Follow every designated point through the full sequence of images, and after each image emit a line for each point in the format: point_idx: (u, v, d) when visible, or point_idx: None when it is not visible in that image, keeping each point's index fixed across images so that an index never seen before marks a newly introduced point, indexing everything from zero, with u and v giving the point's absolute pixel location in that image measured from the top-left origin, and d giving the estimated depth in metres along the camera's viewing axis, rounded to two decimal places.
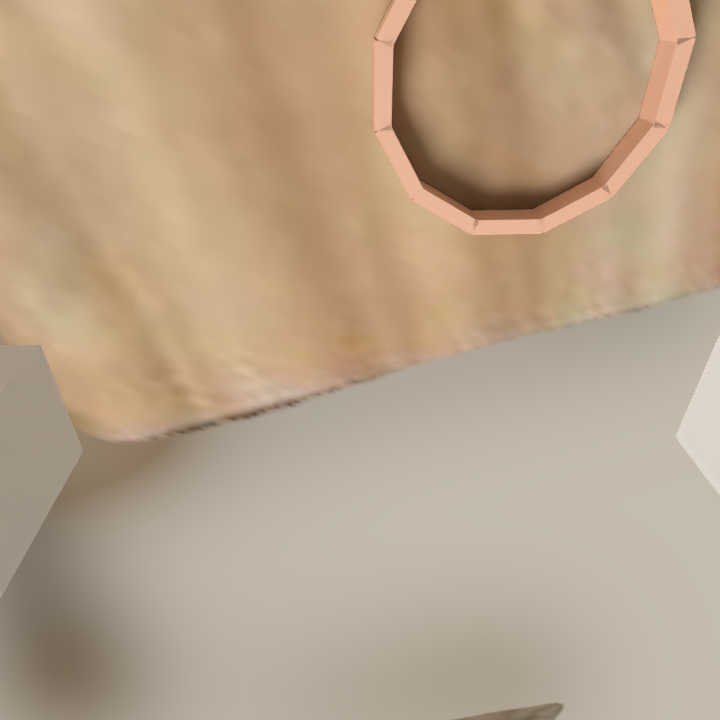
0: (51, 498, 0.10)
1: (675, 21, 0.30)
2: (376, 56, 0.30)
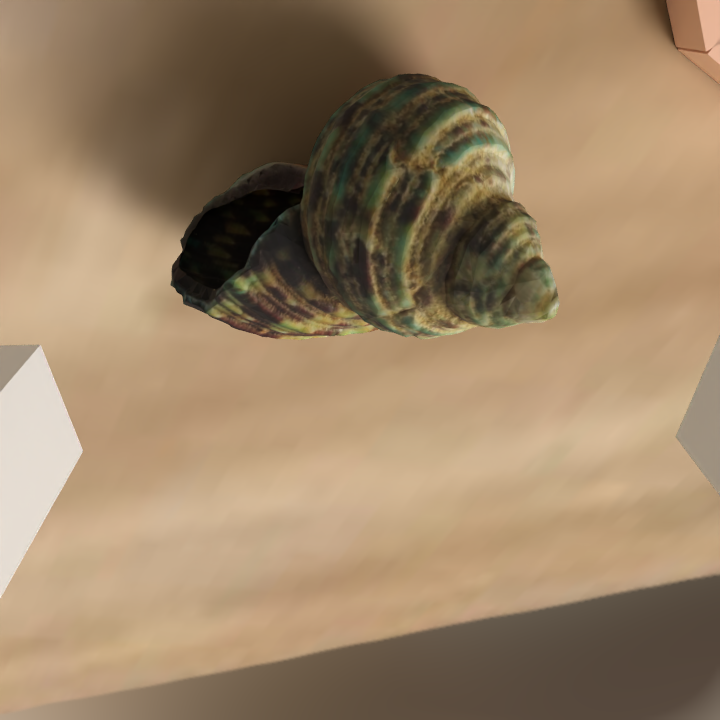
0: (51, 498, 0.10)
1: None
2: None
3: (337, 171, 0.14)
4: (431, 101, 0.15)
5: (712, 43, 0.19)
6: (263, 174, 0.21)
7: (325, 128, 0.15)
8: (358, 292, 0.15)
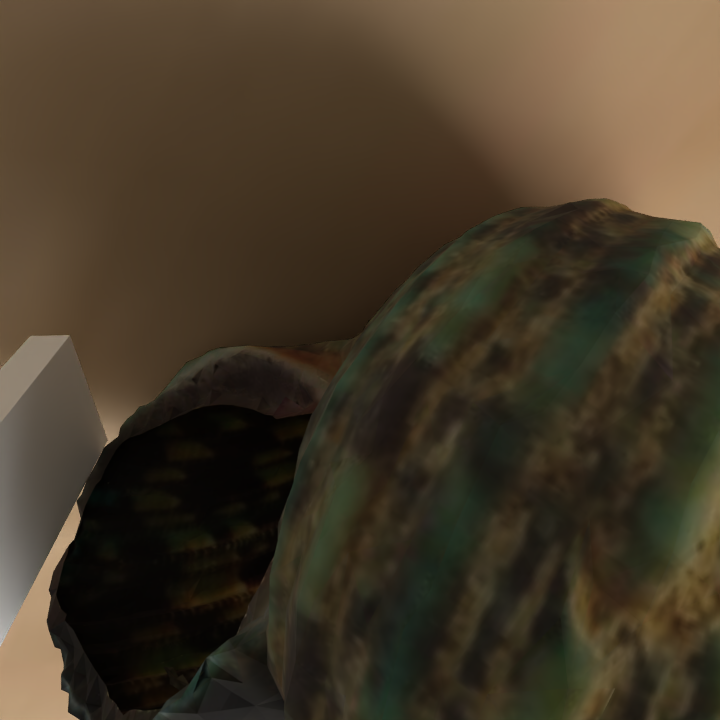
0: (80, 484, 0.11)
1: None
2: None
3: (372, 644, 0.04)
4: (672, 333, 0.04)
5: None
6: (221, 369, 0.11)
7: (321, 432, 0.05)
8: None
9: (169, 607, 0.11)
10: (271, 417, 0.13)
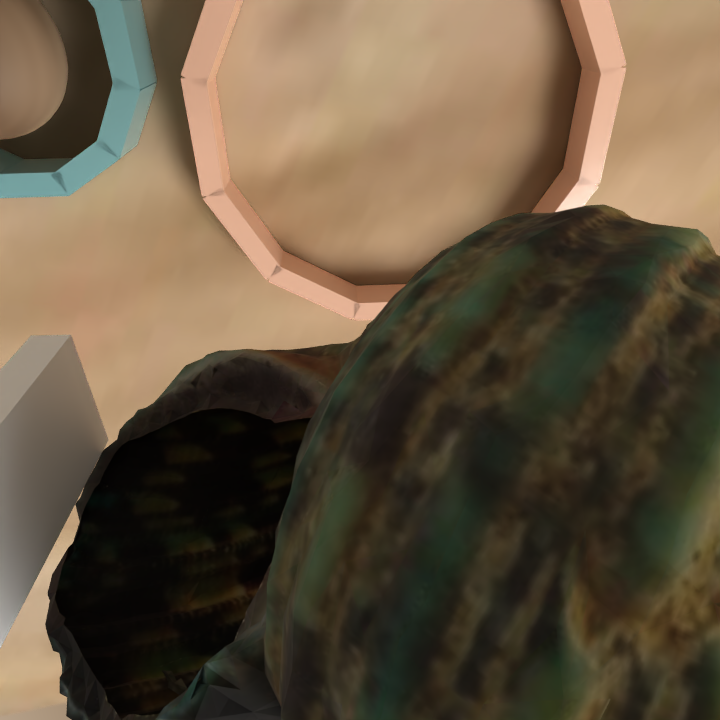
0: (81, 484, 0.11)
1: None
2: (368, 318, 0.28)
3: (368, 652, 0.04)
4: (668, 342, 0.04)
5: (268, 275, 0.26)
6: (219, 372, 0.11)
7: (318, 440, 0.05)
8: None
9: (168, 609, 0.11)
10: (270, 420, 0.13)
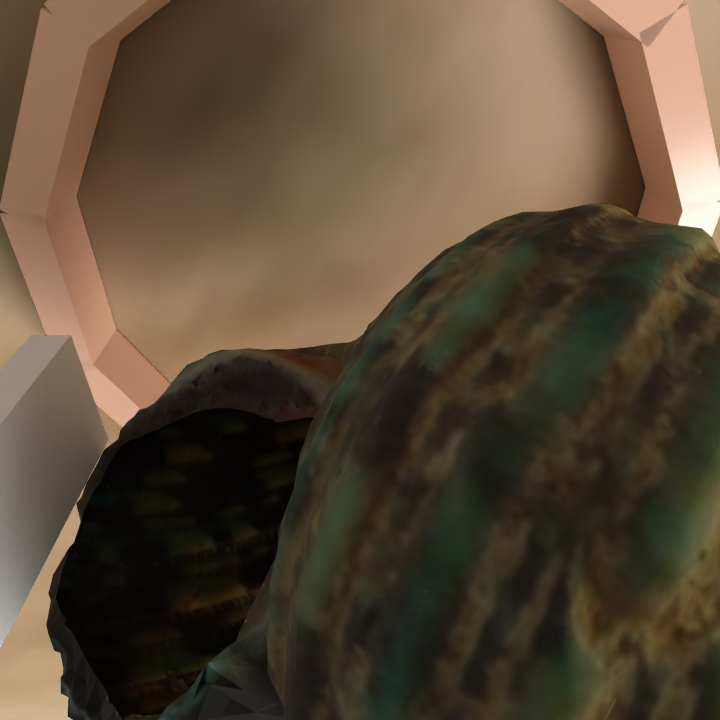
0: (80, 484, 0.11)
1: None
2: None
3: (373, 653, 0.04)
4: (674, 341, 0.04)
5: None
6: (220, 372, 0.11)
7: (322, 439, 0.05)
8: None
9: (169, 609, 0.11)
10: (271, 420, 0.13)
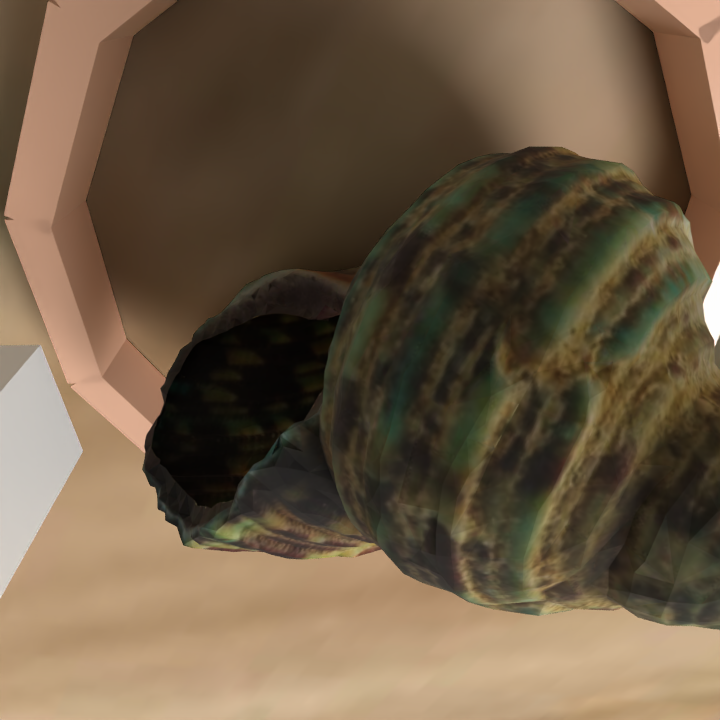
0: (51, 498, 0.10)
1: None
2: None
3: (386, 386, 0.07)
4: (573, 220, 0.07)
5: None
6: (274, 288, 0.14)
7: (359, 281, 0.08)
8: (434, 582, 0.08)
9: (228, 473, 0.15)
10: (310, 334, 0.16)
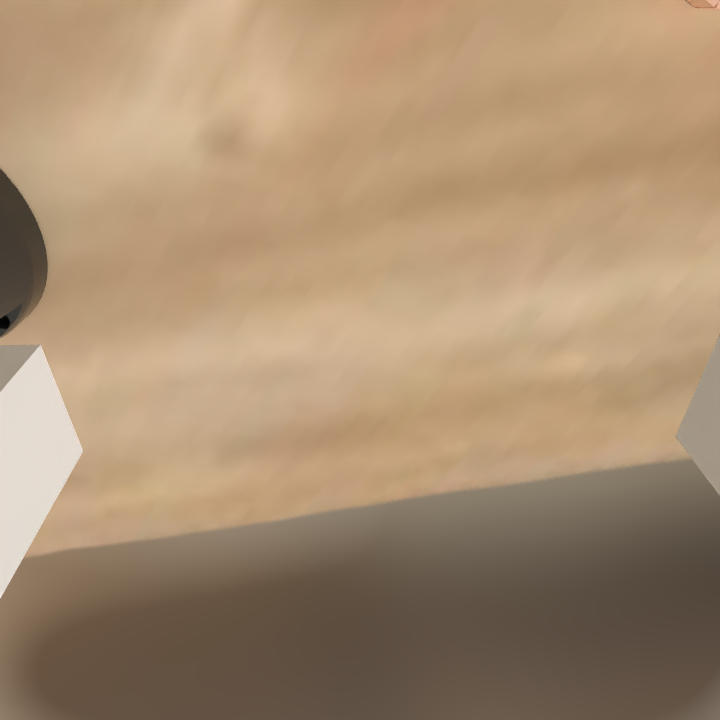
0: (51, 498, 0.10)
1: None
2: None
3: None
4: None
5: None
6: None
7: None
8: None
9: None
10: None
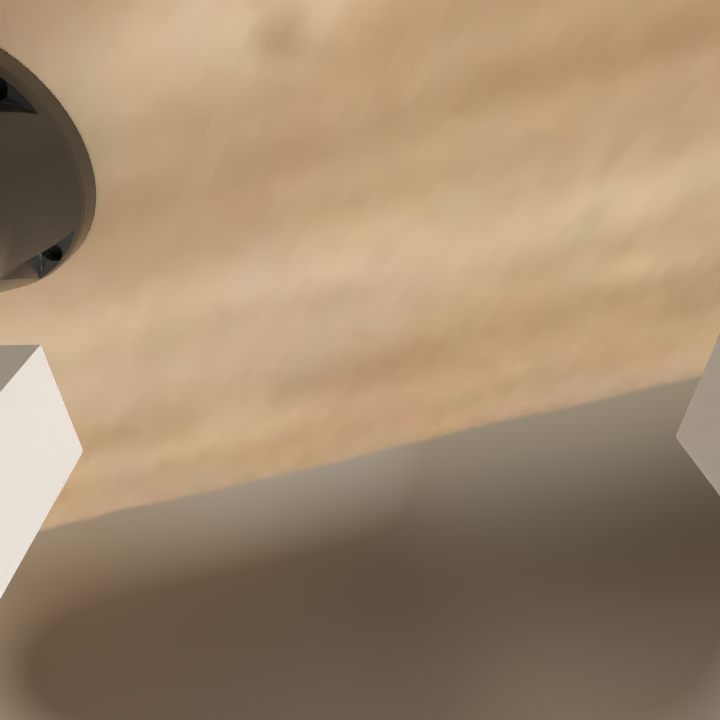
0: (51, 498, 0.10)
1: None
2: None
3: None
4: None
5: None
6: None
7: None
8: None
9: None
10: None
